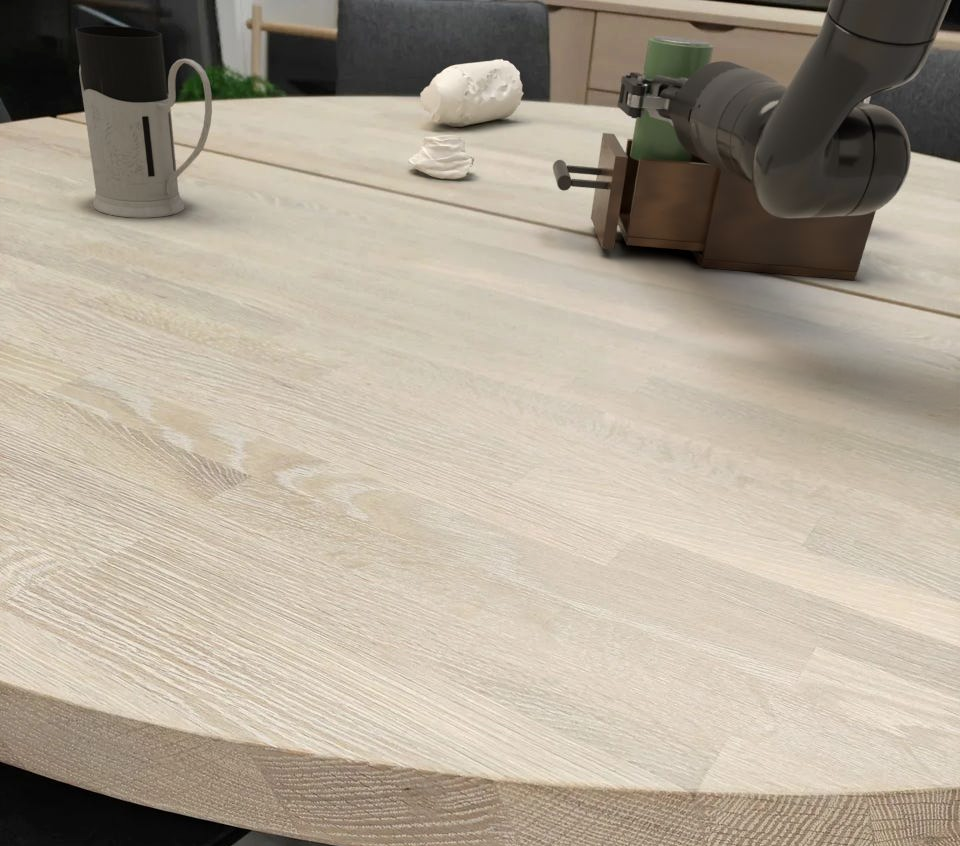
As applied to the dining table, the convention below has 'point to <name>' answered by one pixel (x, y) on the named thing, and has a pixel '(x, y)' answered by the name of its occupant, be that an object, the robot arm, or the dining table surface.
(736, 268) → the cabinet
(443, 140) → the whipped cream
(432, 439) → the dining table surface
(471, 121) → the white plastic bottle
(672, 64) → the can
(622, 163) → the drawer
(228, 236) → the dining table surface
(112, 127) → the glass holder
